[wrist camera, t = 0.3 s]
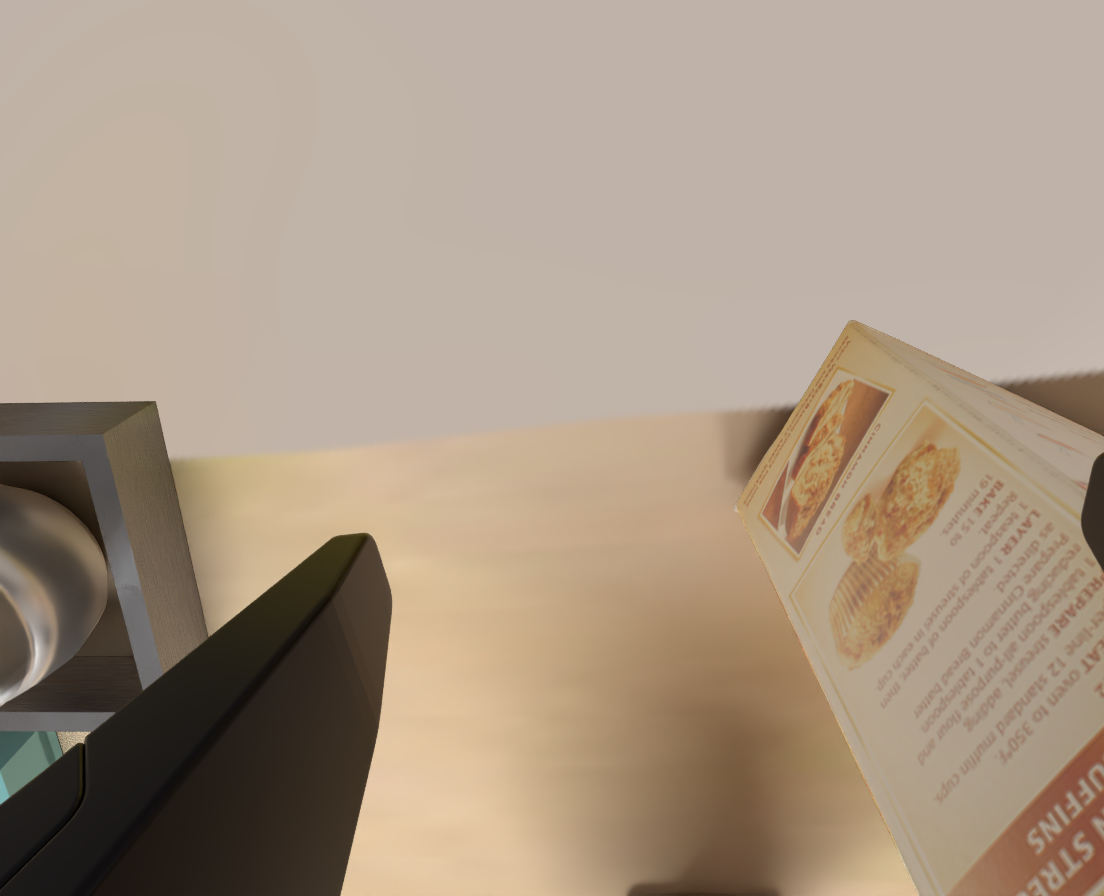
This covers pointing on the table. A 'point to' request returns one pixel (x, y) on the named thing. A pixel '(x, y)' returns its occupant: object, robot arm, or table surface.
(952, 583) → the coffeecake box
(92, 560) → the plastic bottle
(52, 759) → the tray
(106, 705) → the open frame
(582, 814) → the table surface
